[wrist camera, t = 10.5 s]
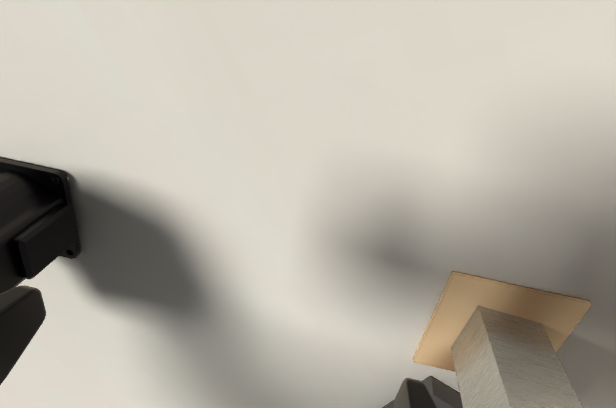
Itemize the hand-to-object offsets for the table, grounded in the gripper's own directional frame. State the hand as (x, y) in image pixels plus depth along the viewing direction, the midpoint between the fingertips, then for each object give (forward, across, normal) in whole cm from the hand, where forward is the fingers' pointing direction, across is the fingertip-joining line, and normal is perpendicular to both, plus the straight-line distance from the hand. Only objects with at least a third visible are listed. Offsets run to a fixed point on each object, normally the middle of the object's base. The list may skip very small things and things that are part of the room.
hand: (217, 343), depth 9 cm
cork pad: (+13, -14, +10) cm, 22 cm away
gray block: (+13, -14, +10) cm, 21 cm away
